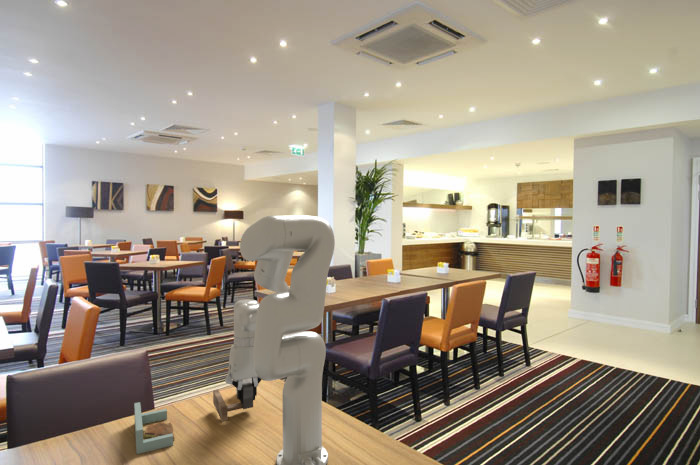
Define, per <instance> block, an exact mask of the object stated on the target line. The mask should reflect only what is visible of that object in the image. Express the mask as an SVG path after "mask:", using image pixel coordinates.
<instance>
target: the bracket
mask: <svg viewBox="0 0 700 465" xmlns="http://www.w3.org/2000/svg"><path fill="white" fill-rule="evenodd" d="M133 404H134V406H133V408H134V433H135V447H136V448H135V450H136V455H139V454H143V453H147V452H151V451H155V450H160V449H164V448H167V447H172V446H174V441H173V434H174V433H173V434H167V435H163V436H159V437H154V438H151V437H149V438H147V439H144V437H143V433H144V428H143V425H146V424H150V423H151V424H152V423H156V422H161V421H165V420H167V419H168V410H167V408H163V409H159V410H154V411H148V412H144V413H142V405H141V402H139V401H138V402H133Z"/></svg>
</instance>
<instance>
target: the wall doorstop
mask: <svg viewBox="0 0 700 465" xmlns="http://www.w3.org/2000/svg"><path fill="white" fill-rule="evenodd" d="M242 389H243V403H241V402H236V403H232V404H228V405H227V404H226V402H225V400H224V398H223V396H222V394H221V392H220V390H219V389H217V390H215V389H214V390H213V394H212V397H213V398H212V402H213V405H214V408H215V411H217V414H218V416H219V418H220V421H221V423H225V422H228V417H229V416H228V412H232V411H237V410H238V411H239V410H242V409H243V410H247V409H251V408H254V400H253V385H252V384H251V383H250V382H249V383H243V384H242Z"/></svg>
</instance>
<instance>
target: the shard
mask: <svg viewBox="0 0 700 465" xmlns="http://www.w3.org/2000/svg"><path fill="white" fill-rule="evenodd" d="M173 428H174V427H173V424H172V422H171V421H162V422H161V421H158V422H154V423H151V424H150V423H149V424H147V425H145V430H144V431H143V438H154V437H159V436H163V435H167V434H173V442H175V438H176V437H175V434H174V429H173Z"/></svg>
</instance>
